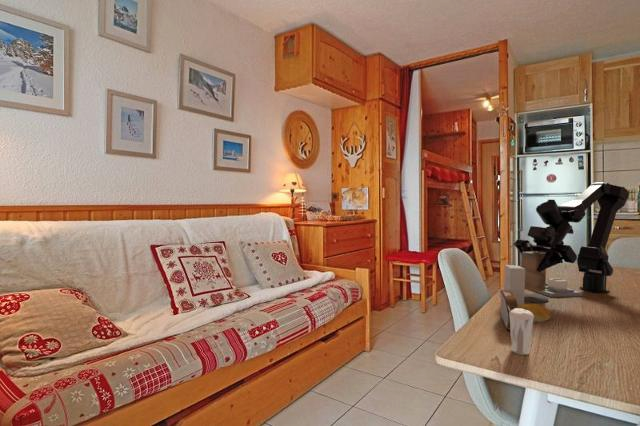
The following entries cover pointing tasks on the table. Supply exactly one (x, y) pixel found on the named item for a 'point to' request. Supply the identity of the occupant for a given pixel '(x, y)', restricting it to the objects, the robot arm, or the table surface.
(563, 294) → the switch board
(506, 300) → the tin
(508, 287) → the skincare box
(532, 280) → the handle block
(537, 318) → the bread roll
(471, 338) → the table surface
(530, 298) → the coaster
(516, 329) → the milkshake
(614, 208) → the robot arm
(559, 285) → the switch tab
